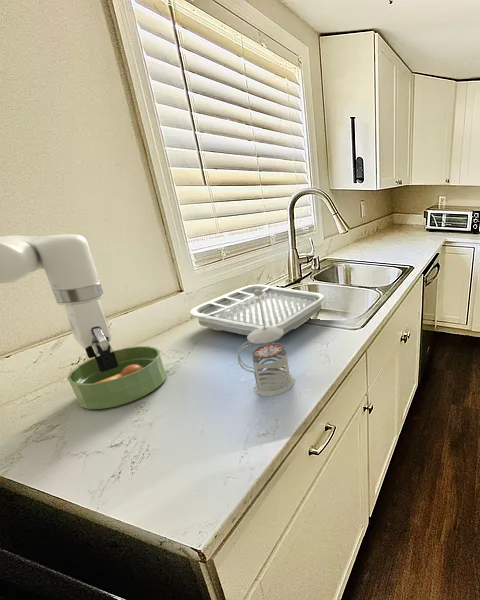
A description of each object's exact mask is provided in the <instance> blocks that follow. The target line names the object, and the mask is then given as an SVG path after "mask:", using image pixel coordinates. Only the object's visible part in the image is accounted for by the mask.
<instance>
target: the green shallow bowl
mask: <svg viewBox="0 0 480 600" xmlns="http://www.w3.org/2000/svg"><path fill="white" fill-rule="evenodd" d="M113 351H114V354H115V357H116V360H117V363H118V367H117V368H114V369H111V370H108V371H105V372H100V371H99V368H98V365H97V362H96V359H95V357H93V358H89V359H88V360H85V361H84V362H83V363H81V364H79V365H77V366H75V367H74V369H72V371H70V372H69V374H68V376H67V378H66V379H67V382H68V384H69V386H70V388H71V391H72V393H73V395H74V397H75V400H76V401H77V403H78V405H79V406H80V407H81V408H85V409H87V410H103V409H110V408H116V407H119V406H123V405H126V404H130V403H132V402H135V401H137V400H139V399H141V398H144V397H145V396H146V395H149V394H150V393H152V392H153V391H155V390H156V389H158V388H159V387H160V386H161V385H162V384H163V383H164V382H165V380H166V378H167V369H166V366H165V363H164V360H163V357H162V353H161V350H159V349H158V348H157V347H154V346H149V345H139V346H138V345H136V346H130V347H123V348H120V349H116V350H113ZM133 364H137V365H140V366H142V367H143V368H142V369H140V370H138V371H136V372H134V373H131V374H129V375H126V376H124V377H121V378H117V379H113V380H110V381H106V382H100V383H96V382H99V381H101V380H104V379H107V378H109V377H112V376H115V375H117V374H121V372H122V370H123V369H124V368H125V367H127V366H129V365H133Z"/></svg>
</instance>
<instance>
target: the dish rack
mask: <svg viewBox="0 0 480 600" xmlns="http://www.w3.org/2000/svg"><path fill="white" fill-rule="evenodd" d="M256 289H260V290H262V292H263V294H262V295H259V298H260V303H261V309H262V314H263V320H264V325H265V327H266V326H273V327H278V328H280V329H283V331H284V333H283V336H284V335H286V334H287V333H289V332H290V331H292V330H295V329H297V328H299V327H301V325H303V324H304V323H306V322H307V321H309V319H311V318H312V317H314V315H315V314H317V313H318V312H320V311H321V310H322V302H323V301H324V300H325V298H326V296H325V294H323V293H321V292H315V291H306V290H300V289H292V288H285V287H280V286H279V287H277V286H273V285H268V284H250V285H246V286H243V287H241V288H238V289H235V290H233V291H231V292H228V293H225V294H223V295H221V296H218V297H216V298H213V299H211V300H209V301H206V302H203V303H202V304H199V305H197V306H195V307H193V308H191V309H190V311H189V315H190V316H191V317H195V318H197V319H198V324H199V325H200V326H202V327H207V328H211V329H212V330H213V331H218V332H221V331H224V332H228V333H233V334H238V335H244V336H248V335H249V334H250V333H251V332H253V331H254V330H256V329H259V328H261V327H264V325H263V320H262V314H261V309H260V303H259V298H258V296H255V295H254V291H255V290H256Z"/></svg>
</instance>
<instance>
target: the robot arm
mask: <svg viewBox="0 0 480 600" xmlns="http://www.w3.org/2000/svg"><path fill="white" fill-rule="evenodd" d="M38 270H44V272H45V274H46V277H47V280H48V283H49V286H50V288H51V291H52V293H53V297H54V299H55V302H56V304H57V305H58V306H63V307H64V310H65V313H66V316H67V319H68V323H69V325H70V328H71V329H70V330H71V332H72V335H73V338H74V339H75V341H76V342H77V343H78V345H80V347H82V348H83V349H84V350H85V353H86V355H87V358H88V359H92V358H95V359H96V362H97V365H98V368H99V371H100V372H105V371H108V370H111V369H114V368H117V367H118V363H117V360H116V357H115V354H114V351H115V350H113V348H112V345H111V342H110V341H112V335H111V332H110V331H111V330H110V328H109V324H108V321H107V318H106V316H105V313H104V310H103V307H102V304H101V301H100V300H101V299H103V298H104V297H105V293H104V290H103V287H102V283H101V280H100V277H99V274H98V271H97V268H96V265H95V262H94V258H93V255H92V253H91V249H90V246H89V243H88V240H87V239H86V237H84V236H83V235H80V234H78V233H77V234H76V233H62V234H61V233H60V234H51V235H45V236H39V235H12V234H11V235H3V236H0V284H9V283H13V282H17V281H20V280H22V279H23V278H26V277H27V276H28V275H30V273H33V272H36V271H38Z"/></svg>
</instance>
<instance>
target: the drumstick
mask: <svg viewBox="0 0 480 600" xmlns="http://www.w3.org/2000/svg"><path fill="white" fill-rule="evenodd" d="M142 368H143V367H142V366H140V365H137V364H133V365H129V366H127V367H125V368H124V369H123V370H122V372H121V374H117V375H115V376H112V377H109V378H107V379H104V380H101V381H99V382H96V383H100V382H106V381H110V380H113V379H117V378H121V377H124V376H126V375H129V374H131V373H134V372H136V371H138V370H140V369H142Z"/></svg>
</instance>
